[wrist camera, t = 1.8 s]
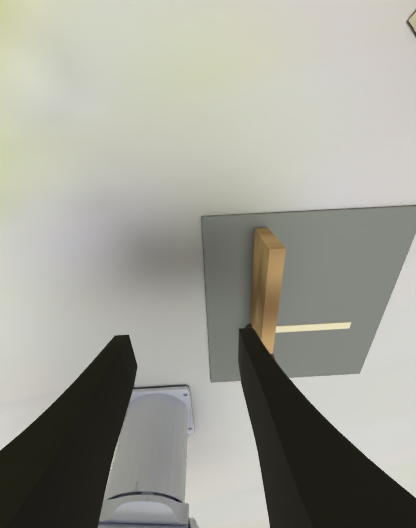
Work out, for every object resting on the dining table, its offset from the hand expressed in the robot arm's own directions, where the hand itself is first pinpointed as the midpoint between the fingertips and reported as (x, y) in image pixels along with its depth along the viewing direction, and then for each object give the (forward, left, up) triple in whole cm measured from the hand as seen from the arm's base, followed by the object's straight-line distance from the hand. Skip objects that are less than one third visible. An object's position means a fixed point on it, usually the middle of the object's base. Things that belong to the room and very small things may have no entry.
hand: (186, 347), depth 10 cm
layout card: (-6, -9, -9) cm, 15 cm away
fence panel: (-2, -5, -9) cm, 11 cm away
